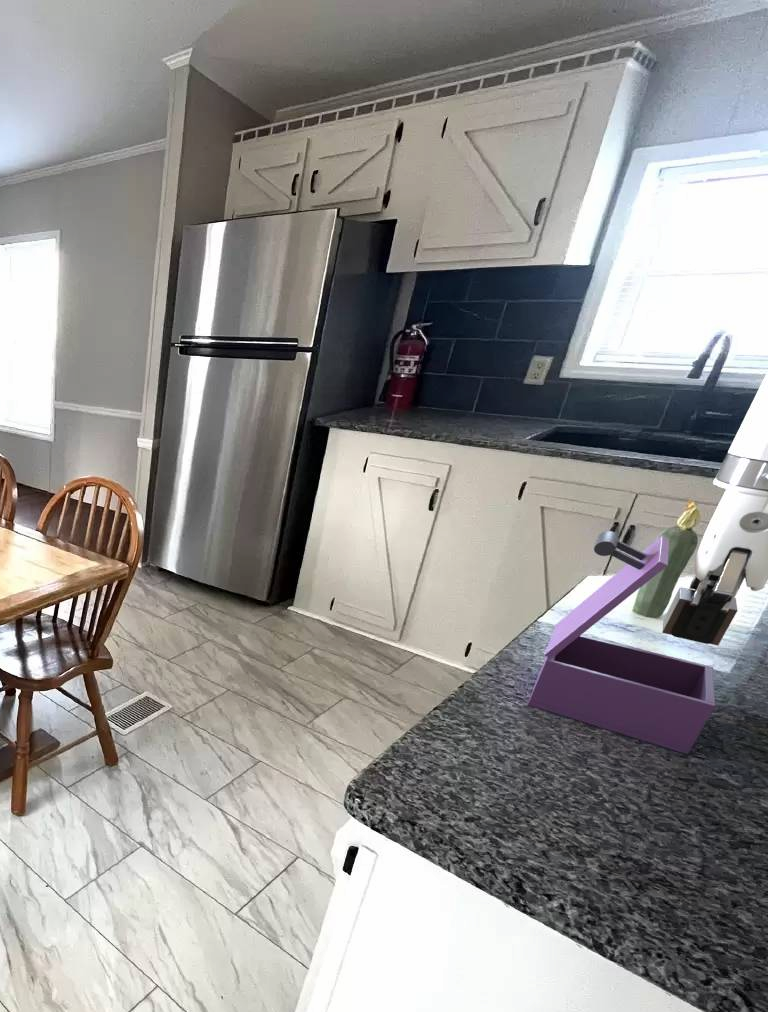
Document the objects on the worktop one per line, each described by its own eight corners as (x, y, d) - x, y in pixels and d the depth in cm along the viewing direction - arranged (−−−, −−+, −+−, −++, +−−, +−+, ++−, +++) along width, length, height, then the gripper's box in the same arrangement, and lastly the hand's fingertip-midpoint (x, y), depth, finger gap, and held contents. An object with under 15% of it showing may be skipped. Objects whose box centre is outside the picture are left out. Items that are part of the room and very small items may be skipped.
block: (663, 620, 76) (679, 586, 74) (716, 632, 73) (735, 597, 71) (662, 632, 73) (679, 598, 71) (718, 645, 70) (737, 610, 68)
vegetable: (656, 633, 98) (718, 508, 89) (618, 625, 100) (674, 503, 92) (655, 623, 100) (715, 501, 92) (618, 615, 103) (672, 496, 95)
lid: (669, 539, 76) (617, 513, 78) (667, 565, 69) (610, 536, 71) (562, 628, 86) (519, 602, 88) (550, 659, 78) (504, 630, 81)
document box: (687, 712, 79) (713, 666, 76) (687, 754, 72) (715, 706, 69) (540, 671, 89) (557, 629, 86) (527, 704, 82) (546, 660, 79)
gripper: (843, 499, 57) (742, 671, 65) (819, 466, 68) (734, 617, 76) (721, 485, 62) (641, 646, 70) (716, 456, 73) (647, 599, 81)
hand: (690, 629), depth 73 cm, fingers closed on block, 4 cm apart
